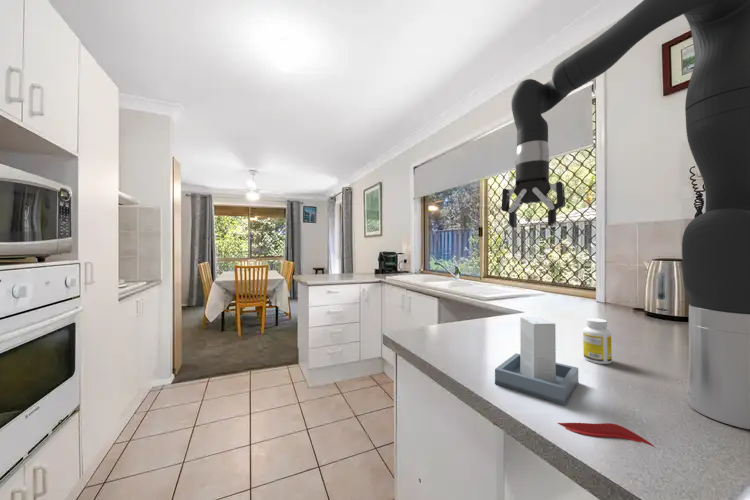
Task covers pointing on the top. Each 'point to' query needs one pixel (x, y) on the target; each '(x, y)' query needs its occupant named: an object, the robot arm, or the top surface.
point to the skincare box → (538, 348)
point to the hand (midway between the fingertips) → (531, 226)
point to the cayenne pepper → (604, 431)
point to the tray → (538, 381)
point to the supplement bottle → (597, 341)
